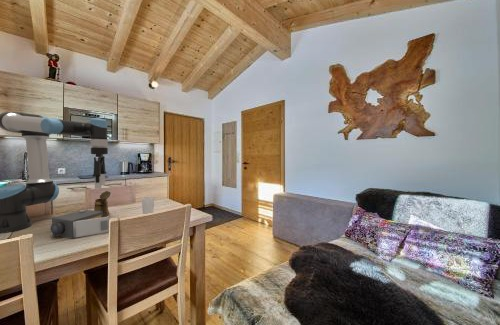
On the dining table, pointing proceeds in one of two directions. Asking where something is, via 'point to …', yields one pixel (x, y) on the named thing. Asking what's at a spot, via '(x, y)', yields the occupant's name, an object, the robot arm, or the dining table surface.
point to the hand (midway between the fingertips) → (100, 186)
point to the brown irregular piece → (102, 203)
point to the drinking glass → (148, 204)
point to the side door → (90, 226)
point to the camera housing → (71, 221)
